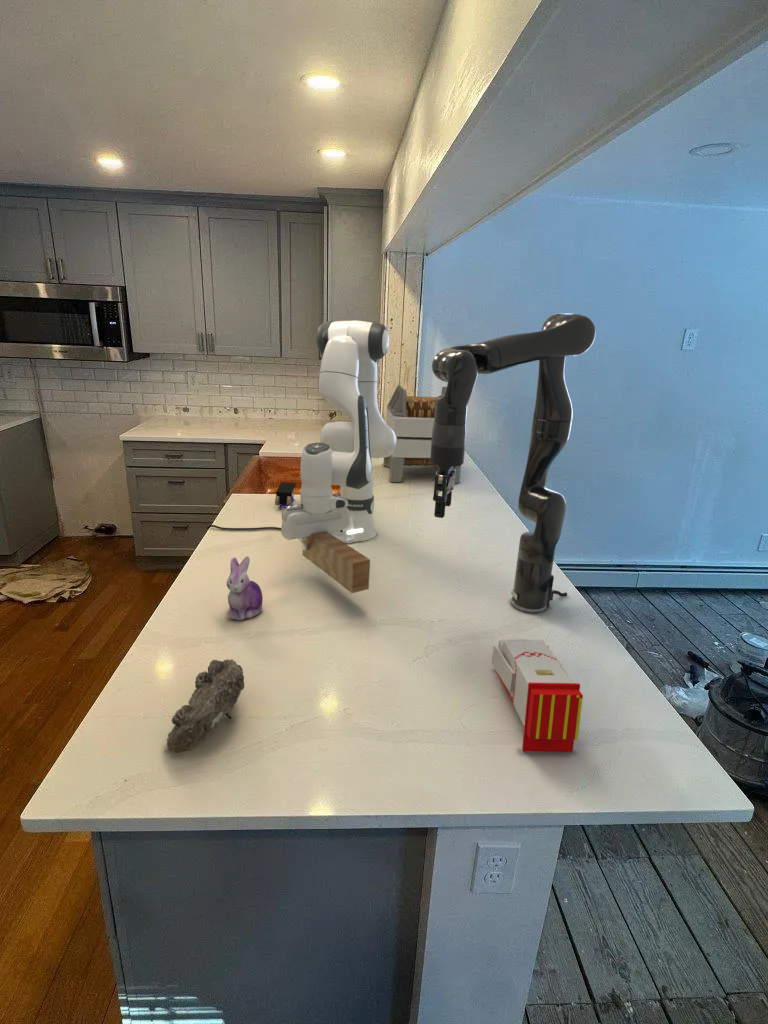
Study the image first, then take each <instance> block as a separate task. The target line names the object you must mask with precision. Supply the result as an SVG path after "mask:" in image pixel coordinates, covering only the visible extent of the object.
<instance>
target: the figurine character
mask: <svg viewBox="0 0 768 1024" xmlns="http://www.w3.org/2000/svg"><path fill="white" fill-rule="evenodd" d="M296 485H297V483H296V482H286V481H285V482H284V481H280V483H279V486H278V487H277V490H276V491H275V497H274V498H275V499H274V506H278V509H279V510H282V507H285V508H287V507H288V506H293V505H292V503H294V502H295V499H294V497H295V493H294V490H295V487H296Z"/></svg>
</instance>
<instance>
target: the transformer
mask: <svg viewBox="0 0 768 1024" xmlns="http://www.w3.org/2000/svg"><path fill="white" fill-rule="evenodd" d="M446 388H447V386H442V387H441V392H440V393H441V394H440V395H443V394H445V392H446ZM407 394H408V393H407V390H406V389H404V388H403V387H402V385H399V384H398V385H397V386H396V388H395V390H394V392H393V394H392V395H391V398H390V400H389V402H388V404H387V405H386V413H385V414H386V415H385V423H386V424H387V425H388V426H389V427H390V428H391V429H392V430H393V431H394V433H395V435H396V438H397V445H396V448H395V450H394V452H393V453H392V454H391V455H390V456H389V457H384V458H383V466H384V467H388V468H389V475H388V476H389V477H388V478H389V480H390V482H391V483H402V482H403V475H404V469H405V466H406V467H407V466H411V467H412V466H413V467H415V466H416V467H417V466H418V467H436V468H437V470H438V469H439V466H438V465H435V464H433V463H432V462H431V461H430V456H431V442H432V430H433V426H434V418H435V404H436V400H437V398H438V397H439V396H415V395H414V396H413V395H412V396H411V395H407ZM461 472H462V465H461V466H457V467H456V475H455V484H459V483H461Z"/></svg>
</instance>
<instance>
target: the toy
mask: <svg viewBox="0 0 768 1024" xmlns="http://www.w3.org/2000/svg"><path fill="white" fill-rule="evenodd" d="M491 665H492V667H493V668H494V671H495V673H496V674H497V677H498V678H499V680H500V682H501V684H502V686H503V687H504V689H505V691H506V693H507V695H508V696H509V699H510V700H511V702H512V703H513V706H514V708H515V711H516V713H517V715H518V717H519V719H520V722H521V723H522V726H523V737H522V747H521V751H522V752H523V753H524V752H525V753H527V752H528V753H532V752H533V753H534V752H535V753H573V752H574V744H575V740H578V739H579V732H580V724H581V723H580V722H581V714H582V705H583V696H584V694H583V693H582V692H581V684H580V683H579V682H574V681H573V679H572V677H570V675H569V674H568V673H567V671H566V670H565V668H564V667H563V665H562V664H561V662H560V661H559V659H557V657H556V656H555V654H554V652H553V651H552V649H551V648H550V646H549V645H548V644H547V643H546V641H545V640H544V639H522V638H521V639H517V638H503V640H499V642H498V646H497V644H494V645H493V649H492V656H491Z"/></svg>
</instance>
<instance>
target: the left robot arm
mask: <svg viewBox="0 0 768 1024" xmlns="http://www.w3.org/2000/svg"><path fill="white" fill-rule="evenodd" d="M316 346H317V348H318V351H319V353H321V355H322V357H321V363H320V369H319V376H318V392H319V395H320V397H321V398H322V400H323V401H324V402H325V403H326V404H328V406H330V407H332V408H334V409H335V410H338V411H339V412H342V414H345V415H346V416H347V417H348V418H349V419H350V421H343V420H342V421H341V420H339V421H331V422H327V423H325V425H323V427H322V428H321V431H320V434H319V441H320V442H312V443H308V444H306V445H305V446H304V447H303V449H302V452H301V458H300V470H299V471H300V473H299V476H300V481H301V486H300V489H299V491H300V493H299V496H300V498H299V504H296V505H289V506H288V507H287V506H286V507H285V508H284V509H282V512H281V526H280V527H278V526H262V527H261V526H260V527H223V526H218V525H215V524H210V525H208V526H206V528H205V529H206V530H208V529H210V528H216V529H219V530H223V531H258V530H278V531H280V534H281V536H282V538H284V539H285V540H287V541H292V540H297V539H298V541H299V542H300V543H301V551H302V550H303V551H308V550H309V544H307V543H305V541H304V540H306V537H308V536H311V534H315V533H321V532H326V531H327V532H328V533H330V534H331V535H333V536H335V537H336V538H338V539H339V540H341V541H342V542H344V543H345V544H352V543H357V542H365V541H368V540H372V539H373V538H375V537H376V535H377V532H376V528H375V523H374V513H373V512H374V509H375V496H374V474H373V464H372V459H384V457H389V456H390V455H391V454H392V453H393V452H394V450H395V448H396V445H397V438H396V435H395V433H394V431H393V430H392V429H391V428H390V427H389V426H388V425H387V423H386V420H384V419H383V417H382V415H381V412H380V409H379V406H378V362H379V360H381V359H383V358H384V357H385V356H386V354H387V353H388V350H389V346H390V333H389V330H388V328H387V327H386V325H385V324H383V323H380V322H376V321H373V322H370V321H365V320H357V319H356V320H355V319H353V320H337V321H335V320H327V321H324V322H322V323H321V324H320V325H319V326H318V328H317V332H316ZM332 485H333V486H340V488H339V489H340V490H339V491H338V492H337V494H335V493H333V488H332Z"/></svg>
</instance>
